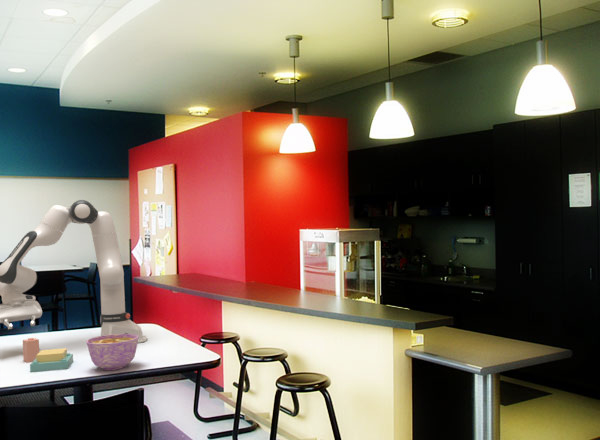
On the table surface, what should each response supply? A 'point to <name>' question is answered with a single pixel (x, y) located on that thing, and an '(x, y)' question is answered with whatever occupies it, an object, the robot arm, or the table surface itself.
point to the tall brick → (30, 349)
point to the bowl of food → (112, 350)
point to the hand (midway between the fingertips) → (22, 326)
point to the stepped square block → (51, 360)
